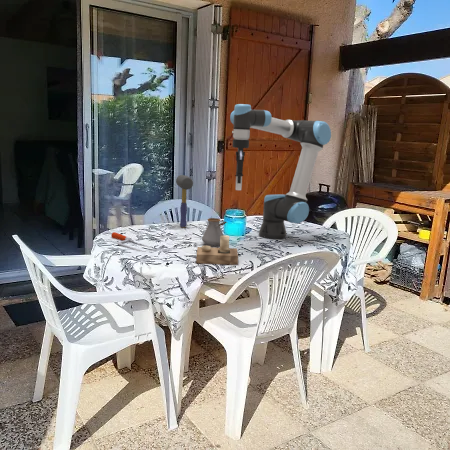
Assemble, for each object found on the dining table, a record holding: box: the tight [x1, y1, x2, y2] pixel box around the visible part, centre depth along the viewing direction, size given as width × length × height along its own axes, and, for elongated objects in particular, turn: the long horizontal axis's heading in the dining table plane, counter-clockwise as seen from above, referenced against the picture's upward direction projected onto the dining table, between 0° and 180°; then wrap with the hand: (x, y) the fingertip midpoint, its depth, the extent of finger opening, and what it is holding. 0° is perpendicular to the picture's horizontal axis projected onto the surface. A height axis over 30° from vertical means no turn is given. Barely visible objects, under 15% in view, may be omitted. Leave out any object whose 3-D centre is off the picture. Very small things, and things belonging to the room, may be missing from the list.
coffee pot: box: [201, 217, 227, 247], centre depth 226 cm, size 21×12×15 cm, turn 22°
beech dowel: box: [219, 234, 230, 253], centre depth 205 cm, size 4×4×11 cm
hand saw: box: [111, 231, 159, 253], centre depth 225 cm, size 33×3×10 cm
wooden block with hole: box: [195, 244, 239, 266], centre depth 205 cm, size 18×12×6 cm, turn 91°
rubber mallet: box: [175, 174, 194, 229], centre depth 261 cm, size 12×8×30 cm, turn 21°
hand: (238, 190), depth 216 cm, fingers closed
